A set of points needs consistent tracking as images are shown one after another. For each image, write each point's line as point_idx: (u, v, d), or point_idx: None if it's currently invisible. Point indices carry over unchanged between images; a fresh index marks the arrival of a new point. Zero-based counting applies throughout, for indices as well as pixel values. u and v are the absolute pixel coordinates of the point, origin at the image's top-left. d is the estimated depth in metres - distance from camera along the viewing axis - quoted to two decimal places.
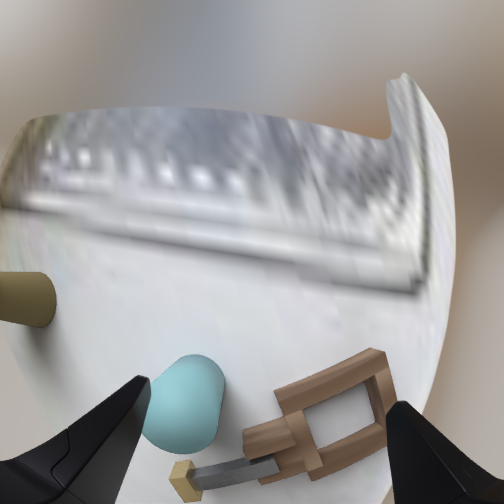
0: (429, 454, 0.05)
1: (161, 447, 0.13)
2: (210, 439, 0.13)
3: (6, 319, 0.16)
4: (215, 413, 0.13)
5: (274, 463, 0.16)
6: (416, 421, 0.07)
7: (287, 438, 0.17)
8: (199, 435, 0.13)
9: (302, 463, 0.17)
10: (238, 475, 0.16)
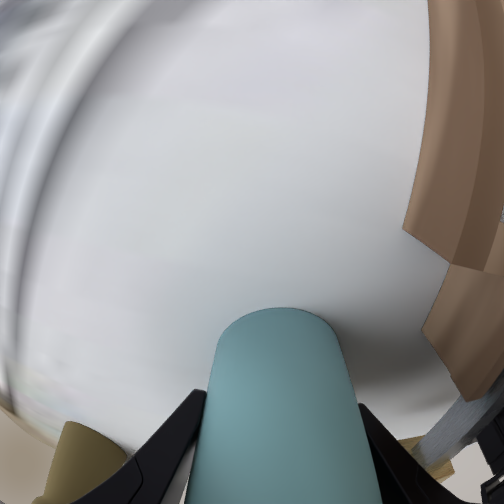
0: (381, 465, 0.05)
1: None
2: None
3: None
4: None
5: None
6: (370, 427, 0.07)
7: None
8: None
9: None
10: (482, 422, 0.06)
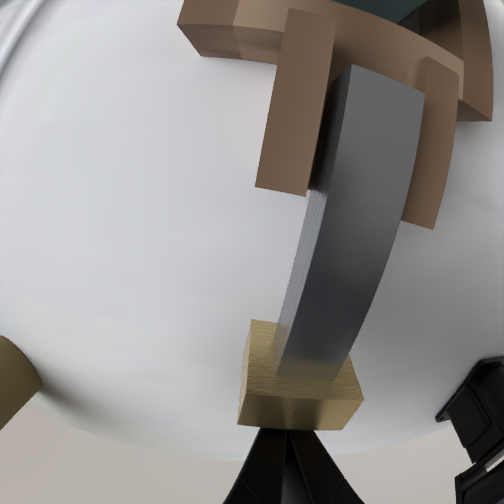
0: (298, 473, 0.05)
1: None
2: None
3: None
4: None
5: (376, 78, 0.04)
6: None
7: (291, 23, 0.04)
8: None
9: (427, 61, 0.04)
10: (354, 233, 0.05)
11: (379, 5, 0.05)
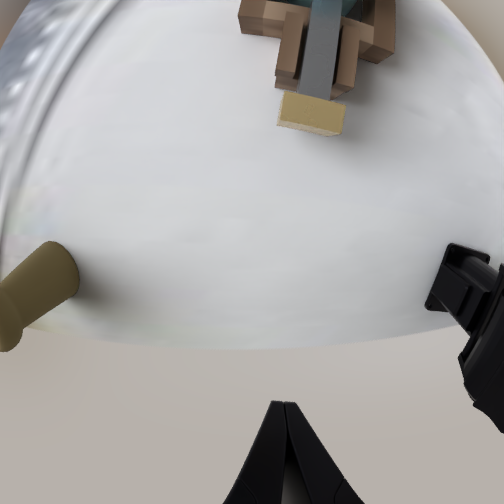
0: (298, 473, 0.05)
1: None
2: None
3: (35, 304, 0.16)
4: None
5: None
6: (295, 429, 0.06)
7: (287, 16, 0.10)
8: None
9: (343, 26, 0.10)
10: (321, 37, 0.10)
11: None
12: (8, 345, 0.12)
